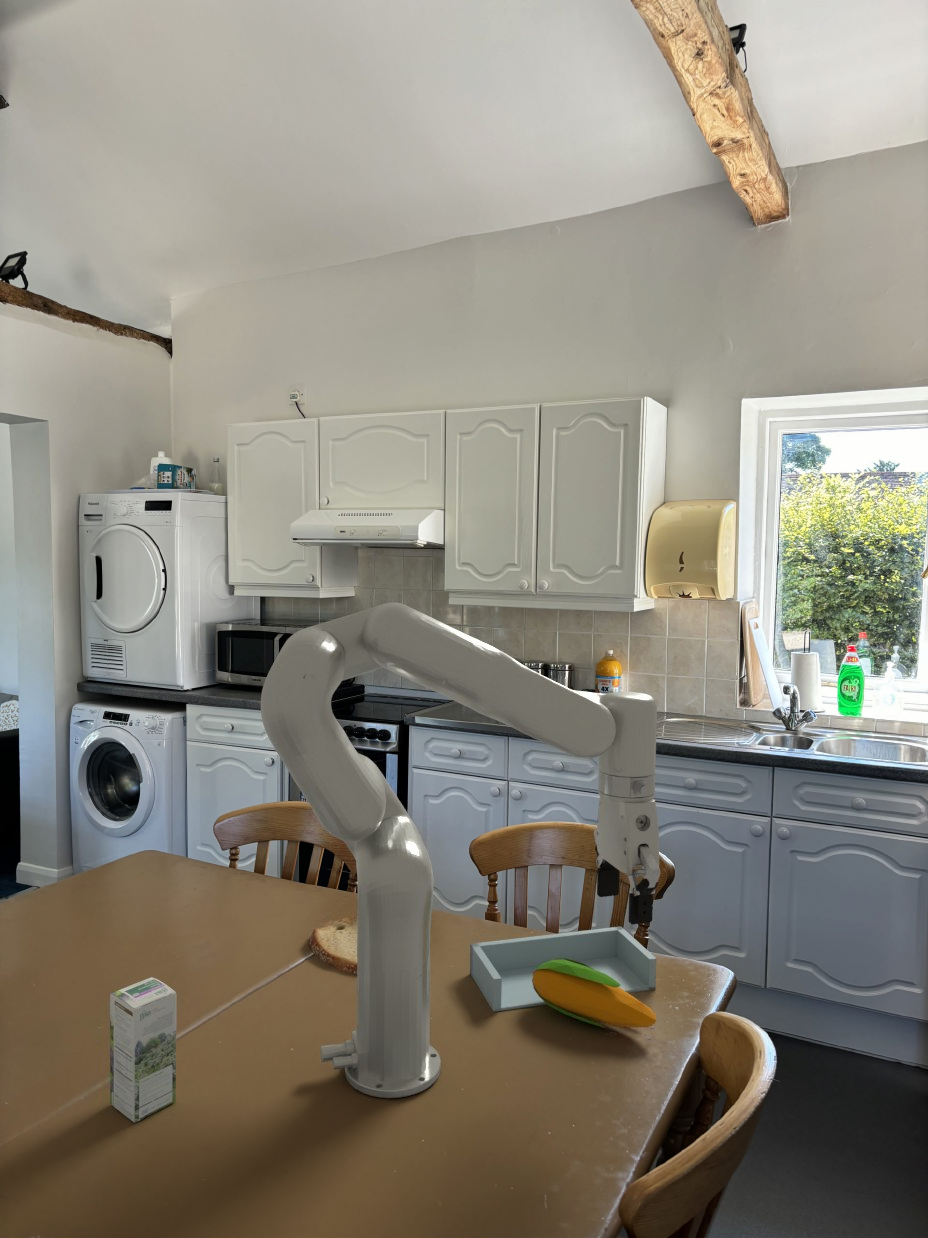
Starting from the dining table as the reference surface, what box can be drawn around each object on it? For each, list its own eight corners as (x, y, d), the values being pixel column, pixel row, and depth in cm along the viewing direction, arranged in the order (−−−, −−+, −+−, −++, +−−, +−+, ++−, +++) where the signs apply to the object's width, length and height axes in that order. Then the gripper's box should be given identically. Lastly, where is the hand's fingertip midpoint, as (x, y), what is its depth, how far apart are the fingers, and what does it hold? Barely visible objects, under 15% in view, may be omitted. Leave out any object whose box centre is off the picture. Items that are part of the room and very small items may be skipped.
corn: (547, 939, 135) (668, 980, 124) (547, 984, 136) (667, 1029, 125) (522, 961, 129) (647, 1006, 118) (522, 1008, 130) (646, 1057, 119)
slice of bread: (405, 979, 140) (405, 957, 139) (294, 976, 140) (294, 954, 140) (415, 932, 158) (415, 912, 157) (317, 929, 158) (317, 909, 158)
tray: (493, 1011, 129) (494, 979, 129) (469, 973, 141) (470, 944, 141) (655, 989, 137) (656, 958, 136) (620, 954, 149) (620, 926, 148)
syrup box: (152, 1084, 110) (150, 974, 109) (178, 1103, 107) (177, 989, 106) (109, 1105, 106) (107, 991, 105) (135, 1126, 102) (133, 1007, 101)
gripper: (685, 799, 109) (681, 932, 110) (622, 767, 126) (619, 883, 127) (631, 803, 107) (628, 938, 108) (574, 770, 124) (572, 888, 125)
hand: (623, 908), depth 118 cm, fingers open, 9 cm apart
